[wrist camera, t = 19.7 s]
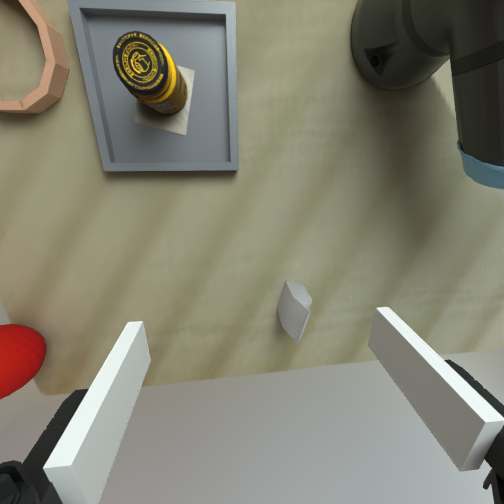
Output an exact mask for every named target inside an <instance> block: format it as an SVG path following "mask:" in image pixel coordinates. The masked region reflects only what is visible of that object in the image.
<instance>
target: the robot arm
mask: <svg viewBox="0 0 504 504" xmlns="http://www.w3.org/2000/svg"><path fill="white" fill-rule="evenodd" d="M351 43H352V51H353V55H354V59H355V61H356V64H357V66H358V68H359V70H360V72H361V73H362V75H363V76H364V77H365V78H366V79H367V80H368V81H369V82H370V83H372V84H373V85H375V86H377V87H379V88H382V89H386V90H399V89H403V88H407V87H409V86H412V85H415V84H417V83H419V82H421V81H423V80H425V79H427V78H428V77H430V76H431V75H432V74H434V73H435V72H436V71H437V70H438V69H439V68H440V67H441V66H442V65H443V64H444V63H445V62H446V61H448V60H449V59H450V63H451V71H452V83H453V93H454V102H455V111H456V120H457V130H458V142H457V147H458V150H459V151H460V153H461V156H462V162H463V168H464V171H465V173H466V174H467V175H468V176H469V177H471V179H473V180H474V181H475V182H477V183H479V184H482V185H485V186H488V187H493V188H498V189H504V0H359V1H358V3H357V6H356V9H355V13H354V17H353V22H352V30H351ZM368 346H369V348H370V349H371V350H372V352H373V353H374V354H375V356H376V357H377V359H378V360H379V361H380V363H381V364H382V365H383V367H384V368H385V369H386V371H387V372H388V373H389V375H390V376H391V378H392V379H393V380H394V382H395V383H396V385H397V386H398V387H399V389H400V390H401V391H402V393H403V394H404V396H405V397H406V398H407V400H408V401H409V402H410V404H411V405H412V407H413V408H414V409H415V411H416V412H417V413H418V414H419V416H420V417H421V419H422V420H423V421H424V423H425V424H426V426H427V427H428V428H429V430H430V431H431V433H432V434H433V435H434V437H435V438H436V439H437V441H438V442H439V444H440V445H441V446H442V448H443V449H444V450H445V452H446V453H447V455H448V456H449V457H450V458H451V460H452V461H453V463H454V464H455V465H456V467H457V468H458V469H459V471H468V470H476V469H479V468H480V466H481V464H482V462H483V460H484V459H485V460H486V462H487V463H488V464H489V465H490V466H491V467H492V469H491V471H490V473H489V474H488V476H487V477H486V479H485V481H484V484H483V488H484V489H486V490H487V489H488V487H489V485H490V484H491V485H492V491H493V497H494V504H504V405H502V403H500V402H499V401H498V400H497V399H496V398H495V397H494V396H493V395H492V394H490V393H489V392H488V391H487V390H486V389H484V388H483V386H482V385H481V384H480V383H479V382H478V381H476V380H474V378H473V377H472V376H471V375H470V374H469V373H468V372H466V371H465V370H464V369H463V368H462V367H460V366H458V365H457V364H455V363H454V362H452V361H451V360H443V359H442V358H441V357H440V356H439V355H438V354H437V353H436V352H435V351H434V350H433V349H432V348H431V347H429V346H428V345H427V344H426V343H425V342H424V341H423V340H422V339H421V338H420V337H419V336H418V335H417V334H416V333H415V332H414V331H413V330H412V329H411V328H410V327H409V326H408V325H407V324H406V323H404V322H403V321H402V320H401V319H400V318H399V317H398V316H397V315H396V314H395V313H394V312H393V311H392V310H391V309H390V308H389V307H379V308H376V309H375V314H374V318H373V323H372V327H371V332H370V337H369V341H368ZM150 361H151V359H150V354H149V349H148V344H147V339H146V334H145V329H144V325H143V321H139V322H128V323H127V325H126V327H125V328H124V330H123V332H122V333H121V335H120V337H119V339H118V340H117V342H116V344H115V345H114V347H113V349H112V351H111V352H110V354H109V356H108V357H107V359H106V361H105V363H104V364H103V366H102V368H101V369H100V371H99V373H98V375H97V376H96V378H95V380H94V381H93V383H92V385H91V387H90V388H89V389H82V390H75V391H74V392H73V393H72V394H71V395H70V396H69V397H68V398H67V399H66V400H65V401H64V402H63V403H62V404H61V406H60V407H59V409H58V410H57V412H56V414H55V415H54V418H52V420H51V421H50V423H49V424H48V426H47V429H46V430H44V432H43V433H42V435H41V436H40V438H39V440H38V441H37V443H36V444H35V445H34V447H33V448H32V450H31V452H30V453H29V455H28V456H27V458H26V459H25V461H24V462H23V464H22V463H21V462H18V461H14V460H13V461H8V462H3V463H1V464H0V504H98V503H99V500H100V498H101V495H102V492H103V490H104V487H105V484H106V481H107V479H108V476H109V473H110V470H111V468H112V465H113V462H114V460H115V457H116V454H117V451H118V449H119V446H120V443H121V440H122V438H123V435H124V432H125V430H126V427H127V424H128V421H129V418H130V416H131V413H132V410H133V408H134V405H135V402H136V399H137V397H138V394H139V391H140V389H141V386H142V383H143V380H144V378H145V375H146V372H147V369H148V367H149V364H150Z"/></svg>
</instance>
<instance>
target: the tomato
mask: <svg viewBox="0 0 504 504" xmlns="http://www.w3.org/2000/svg"><path fill="white" fill-rule="evenodd" d="M45 353H46V344H45V341H44V339H43V337H42V336H41V335H40V334H39V333H38V332H37V331H35V330H33V329H31V328H29V327H26V326H22V325H17V324H7V325H0V399H2V398H4V397H6V396H8V395H10V394H12V393H13V392H15V391H16V390H18V389H20V388H21V387H23V386H24V385H25V384H26V383H28V382H29V381H30V380H31V379H32V378H33V377H34V376H35V375H36V374H37V372H38V371H39V369H40V368H41V366H42V364H43V361H44V358H45Z"/></svg>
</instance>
